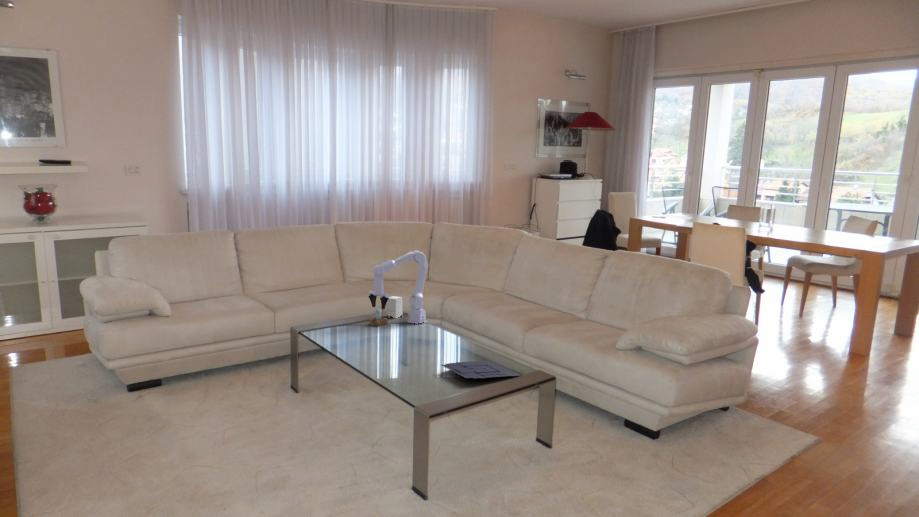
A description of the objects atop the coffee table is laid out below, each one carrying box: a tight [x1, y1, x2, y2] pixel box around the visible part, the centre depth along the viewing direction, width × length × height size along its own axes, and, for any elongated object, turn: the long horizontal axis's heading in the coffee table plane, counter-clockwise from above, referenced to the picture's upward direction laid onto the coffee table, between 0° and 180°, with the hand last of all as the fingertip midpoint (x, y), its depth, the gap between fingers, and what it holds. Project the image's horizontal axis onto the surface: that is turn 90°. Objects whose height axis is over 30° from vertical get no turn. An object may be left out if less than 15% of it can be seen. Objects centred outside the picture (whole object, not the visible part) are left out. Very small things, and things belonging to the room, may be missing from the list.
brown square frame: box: [368, 316, 388, 327], centre depth 350 cm, size 8×8×4 cm
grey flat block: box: [440, 360, 521, 379], centre depth 267 cm, size 24×30×4 cm
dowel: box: [375, 308, 382, 320], centre depth 350 cm, size 3×3×9 cm
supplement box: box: [386, 295, 403, 319], centre depth 370 cm, size 7×7×13 cm
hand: (378, 307), depth 349 cm, fingers open, 7 cm apart
